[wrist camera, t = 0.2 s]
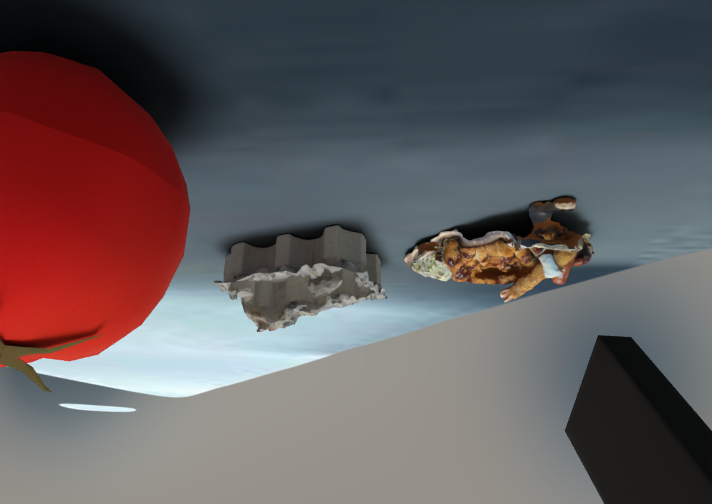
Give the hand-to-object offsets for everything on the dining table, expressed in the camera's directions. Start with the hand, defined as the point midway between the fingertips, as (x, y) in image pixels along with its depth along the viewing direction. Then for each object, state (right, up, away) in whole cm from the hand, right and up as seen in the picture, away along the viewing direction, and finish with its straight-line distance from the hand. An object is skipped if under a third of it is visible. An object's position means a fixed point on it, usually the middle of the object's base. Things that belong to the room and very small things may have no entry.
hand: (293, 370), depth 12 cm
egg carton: (-2, +2, +28) cm, 29 cm away
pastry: (+11, +3, +27) cm, 29 cm away
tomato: (-12, +10, +14) cm, 21 cm away
